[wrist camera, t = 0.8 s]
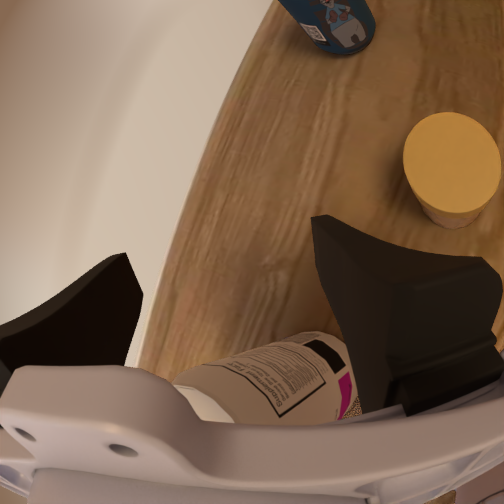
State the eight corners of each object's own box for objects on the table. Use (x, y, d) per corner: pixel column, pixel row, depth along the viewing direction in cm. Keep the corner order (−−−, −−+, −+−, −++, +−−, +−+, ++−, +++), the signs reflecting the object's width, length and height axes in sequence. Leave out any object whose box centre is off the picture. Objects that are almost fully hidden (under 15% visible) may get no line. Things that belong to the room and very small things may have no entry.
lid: (504, 141, 13) (508, 129, 12) (486, 233, 14) (490, 229, 13) (418, 115, 17) (414, 101, 15) (396, 200, 18) (390, 193, 16)
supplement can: (377, 400, 22) (292, 510, 10) (297, 425, 26) (180, 506, 14) (339, 314, 25) (219, 352, 13) (264, 350, 29) (128, 390, 17)
